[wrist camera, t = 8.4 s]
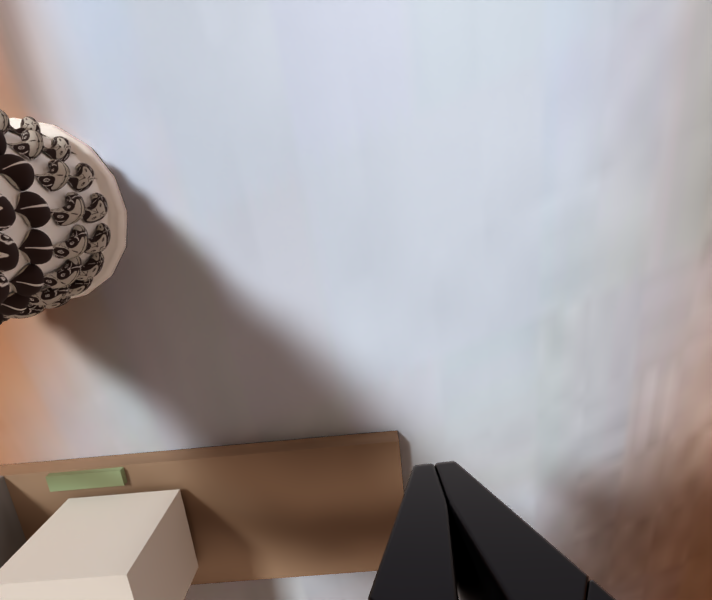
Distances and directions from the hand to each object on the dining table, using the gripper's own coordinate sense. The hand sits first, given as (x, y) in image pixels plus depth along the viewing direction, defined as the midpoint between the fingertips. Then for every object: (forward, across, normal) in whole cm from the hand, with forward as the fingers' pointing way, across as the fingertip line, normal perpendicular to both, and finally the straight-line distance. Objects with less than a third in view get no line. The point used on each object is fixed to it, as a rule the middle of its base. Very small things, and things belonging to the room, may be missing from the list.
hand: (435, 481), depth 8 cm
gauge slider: (+11, +15, +12) cm, 22 cm away
